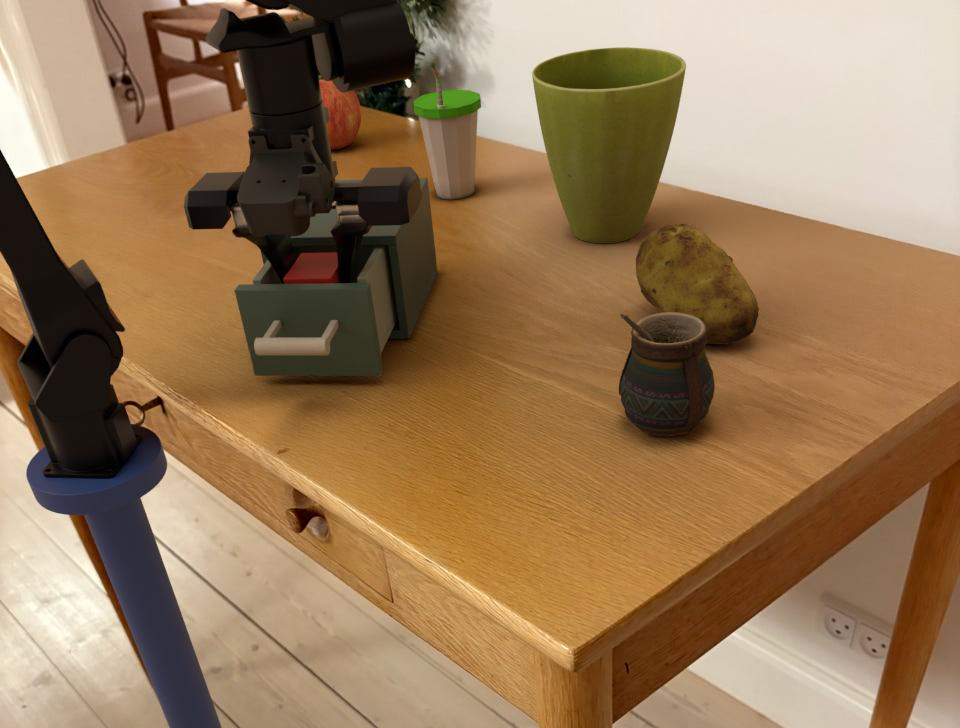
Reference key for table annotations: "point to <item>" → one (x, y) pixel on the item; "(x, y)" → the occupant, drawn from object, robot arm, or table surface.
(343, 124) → the fruit
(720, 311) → the potato
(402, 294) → the cabinet
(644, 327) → the mate gourd
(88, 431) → the robot arm
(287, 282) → the red block
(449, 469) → the table surface
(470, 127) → the cup
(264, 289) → the drawer
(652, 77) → the flower pot
